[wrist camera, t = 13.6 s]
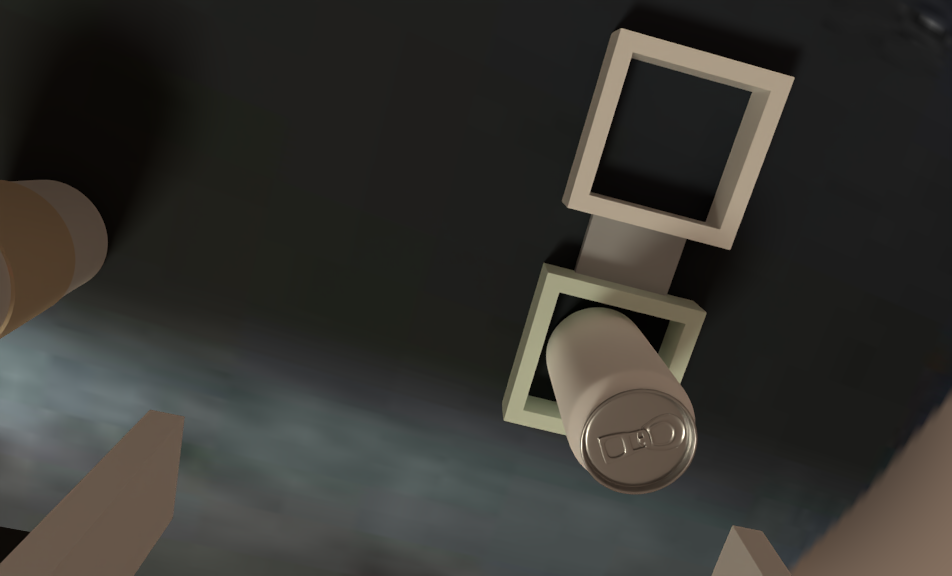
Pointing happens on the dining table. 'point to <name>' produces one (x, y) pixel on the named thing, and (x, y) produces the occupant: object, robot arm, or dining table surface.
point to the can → (619, 402)
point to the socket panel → (644, 218)
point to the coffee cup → (45, 247)
